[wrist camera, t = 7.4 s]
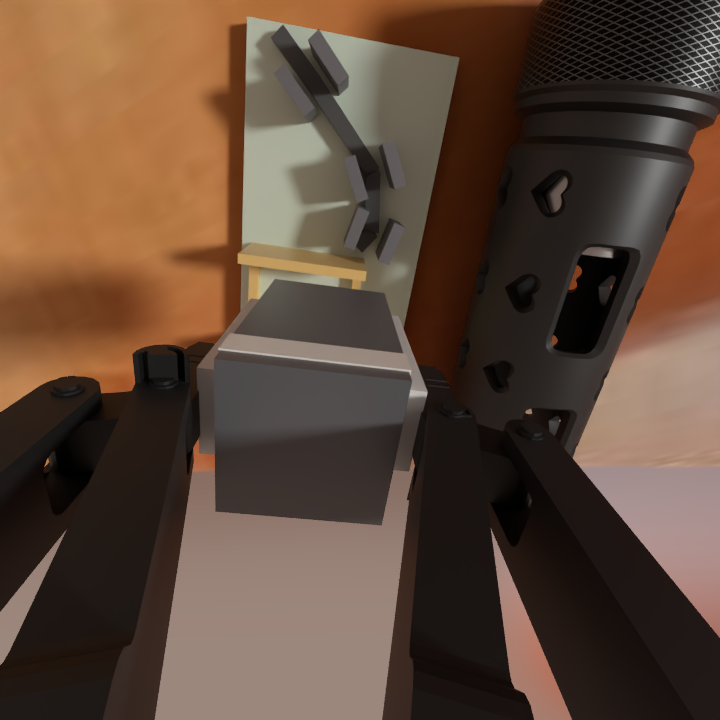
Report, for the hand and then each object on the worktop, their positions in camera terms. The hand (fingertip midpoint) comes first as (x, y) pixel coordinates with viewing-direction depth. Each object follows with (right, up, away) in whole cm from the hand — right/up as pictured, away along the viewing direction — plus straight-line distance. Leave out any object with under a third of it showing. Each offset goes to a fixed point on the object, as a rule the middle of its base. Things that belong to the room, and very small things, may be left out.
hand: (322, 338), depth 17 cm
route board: (0, +9, +10) cm, 14 cm away
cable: (0, +12, +8) cm, 14 cm away
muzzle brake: (+13, +7, +12) cm, 19 cm away
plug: (0, 0, 0) cm, 0 cm away
